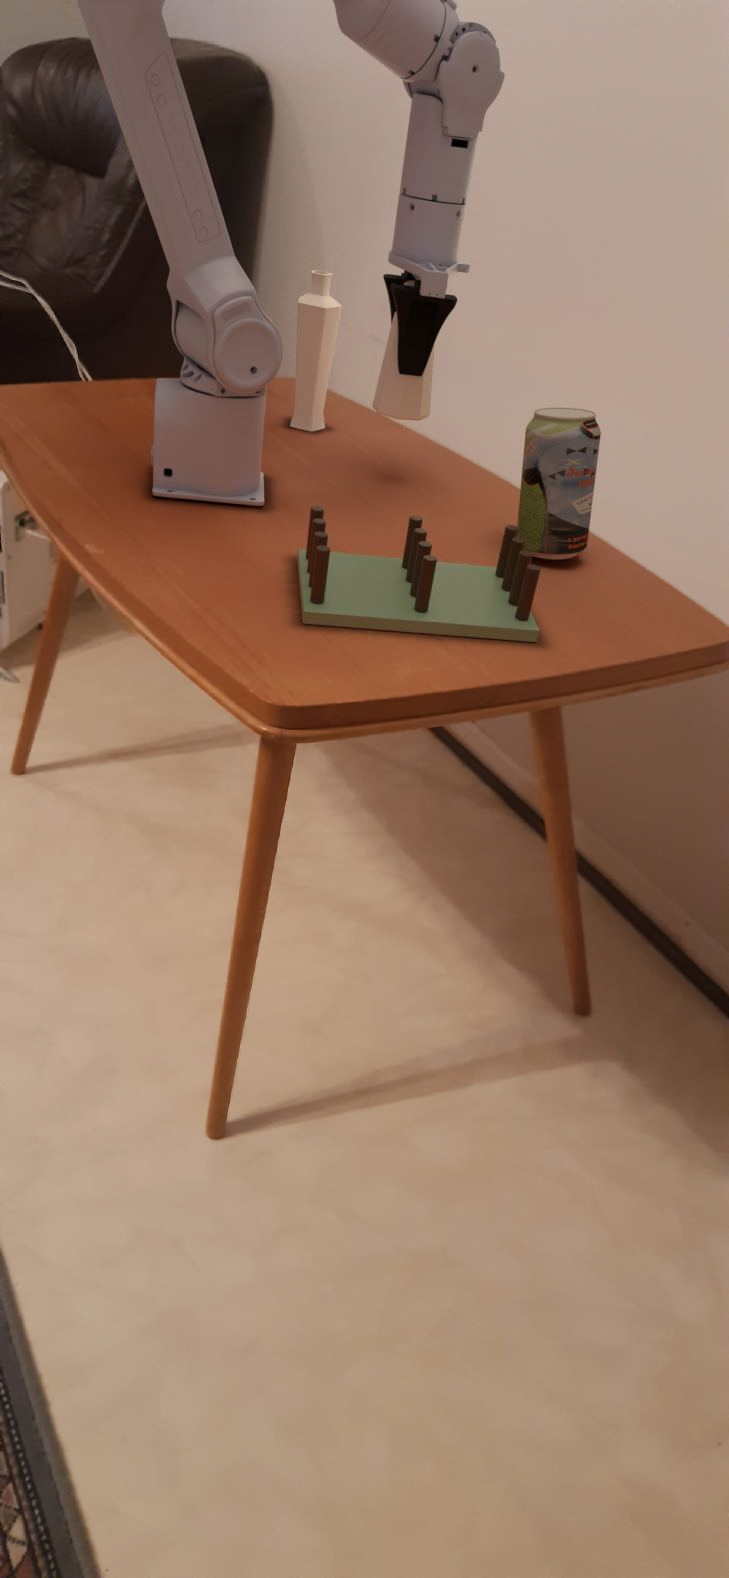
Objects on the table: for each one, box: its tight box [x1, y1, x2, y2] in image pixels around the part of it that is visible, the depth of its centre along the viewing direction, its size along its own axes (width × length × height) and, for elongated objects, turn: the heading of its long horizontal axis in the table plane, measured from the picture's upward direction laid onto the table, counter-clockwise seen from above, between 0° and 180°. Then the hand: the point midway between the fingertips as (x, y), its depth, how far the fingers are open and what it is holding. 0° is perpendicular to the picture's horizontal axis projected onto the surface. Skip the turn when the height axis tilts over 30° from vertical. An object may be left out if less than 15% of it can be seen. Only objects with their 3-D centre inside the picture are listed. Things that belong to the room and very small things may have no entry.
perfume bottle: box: [289, 269, 343, 432], centre depth 106 cm, size 5×4×15 cm
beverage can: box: [516, 407, 602, 560], centre depth 85 cm, size 6×7×12 cm
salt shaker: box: [371, 281, 435, 422], centre depth 92 cm, size 5×5×11 cm
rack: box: [296, 505, 541, 643], centre depth 76 cm, size 17×11×5 cm, turn 95°
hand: (407, 368), depth 93 cm, fingers closed on salt shaker, 4 cm apart
